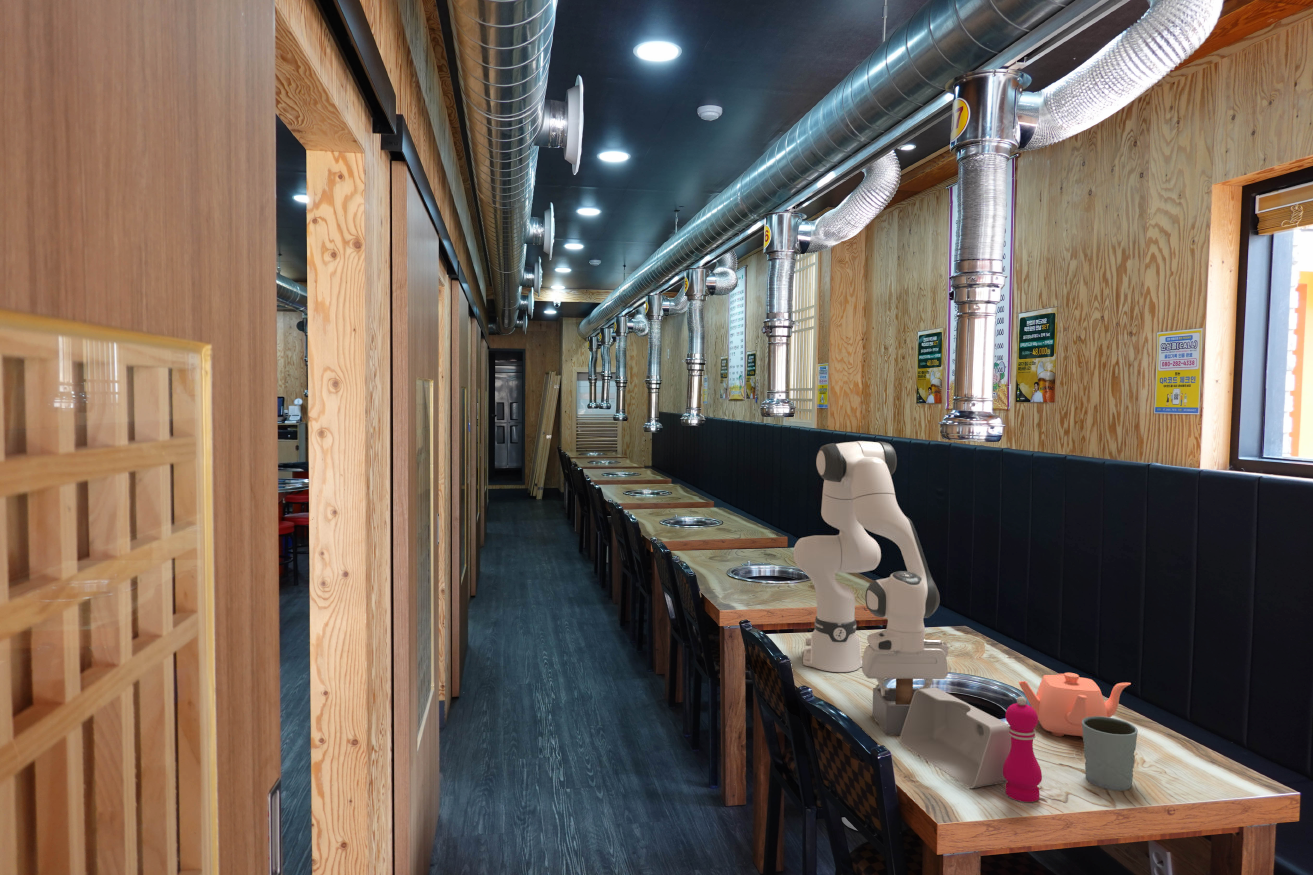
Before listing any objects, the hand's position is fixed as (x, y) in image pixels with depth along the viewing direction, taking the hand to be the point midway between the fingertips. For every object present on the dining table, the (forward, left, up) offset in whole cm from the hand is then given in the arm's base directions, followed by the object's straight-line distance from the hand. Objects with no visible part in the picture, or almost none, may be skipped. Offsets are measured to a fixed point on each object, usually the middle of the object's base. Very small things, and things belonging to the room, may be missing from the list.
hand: (904, 695), depth 201 cm
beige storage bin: (+19, +7, -8) cm, 22 cm away
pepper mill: (+36, +13, -7) cm, 39 cm away
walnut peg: (0, 0, -7) cm, 7 cm away
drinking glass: (+29, +34, -8) cm, 45 cm away
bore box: (0, 0, -7) cm, 7 cm away
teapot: (+3, +40, -8) cm, 41 cm away
